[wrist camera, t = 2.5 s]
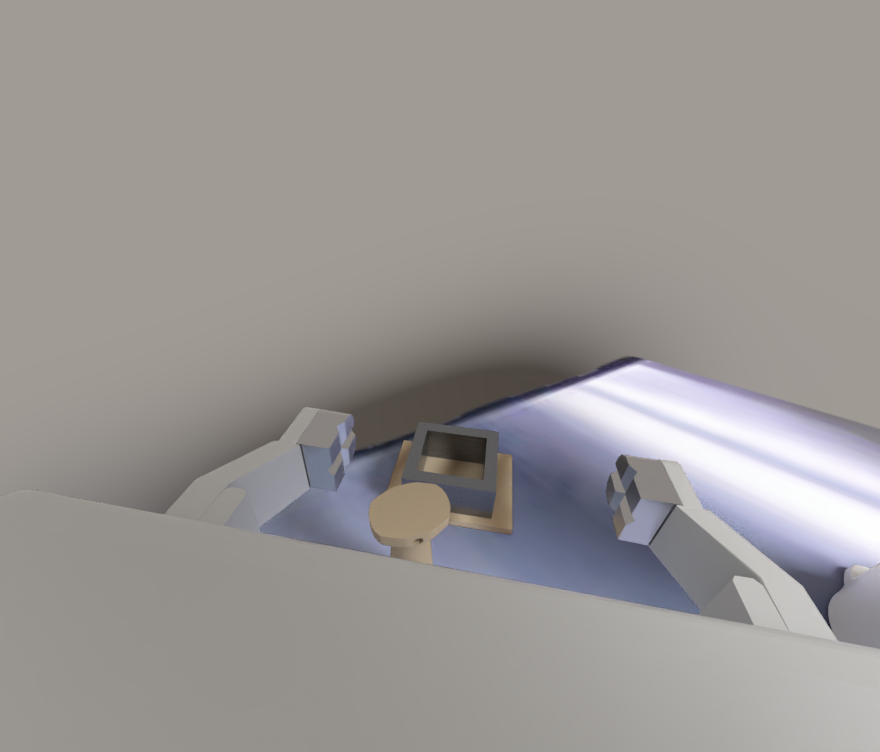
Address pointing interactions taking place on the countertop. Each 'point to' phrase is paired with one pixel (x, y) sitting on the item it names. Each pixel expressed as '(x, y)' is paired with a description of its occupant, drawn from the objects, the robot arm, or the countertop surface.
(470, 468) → the base board
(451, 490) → the square frame
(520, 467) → the countertop surface
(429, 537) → the handle
